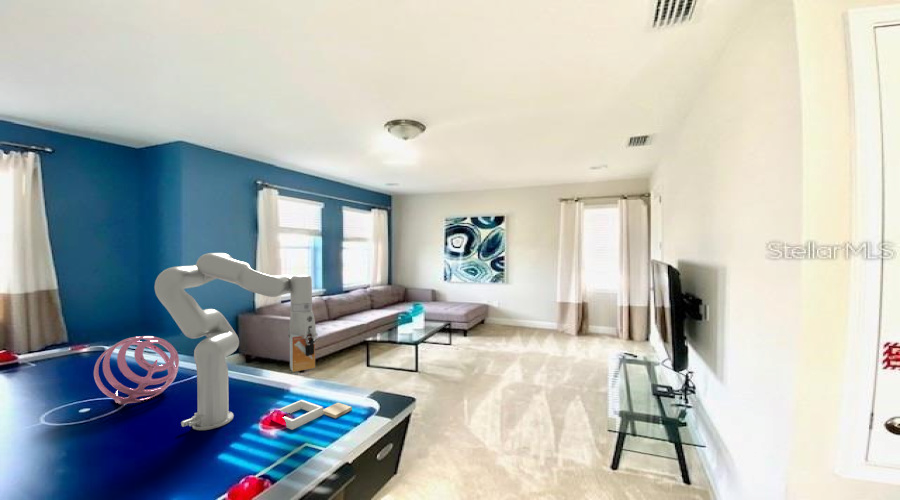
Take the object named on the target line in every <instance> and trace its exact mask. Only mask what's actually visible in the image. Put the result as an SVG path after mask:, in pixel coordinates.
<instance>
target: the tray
mask: <svg viewBox="0 0 900 500" xmlns="http://www.w3.org/2000/svg"><path fill="white" fill-rule="evenodd" d="M323 409H324V406H322V405H319V404H317V403H316V404H315V403H313V402H309V401H306V400H304V399H300V400H298V401H296V402H293V403H291V404H288V405H285V406H283V407H280V408H277V410H280V411H283V412H287V413H290V414H292V413H294V412H297V411H299V410H304V411H307V412H306V413H304V414H301V415H299V416H297V417H295V418H292V417H291V418H290V417H288V416H287V415H286V416H284V417H282V418H283V419H284V420H285V422H286V426H287V427H286V428H287V429H289V430H294V429H297V428H299V427H301V426H303V425H305V424H307V423H309V422H311V421H314V420H315V419H317V418H320V417H321V416H323V415H324V414H323ZM272 412H273V411H271V412H270V414H271V413H272Z"/></svg>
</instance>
